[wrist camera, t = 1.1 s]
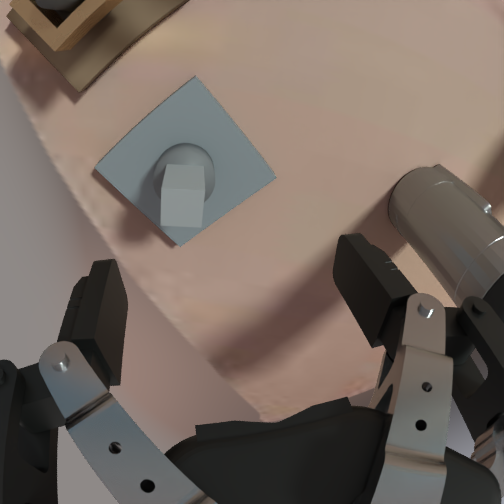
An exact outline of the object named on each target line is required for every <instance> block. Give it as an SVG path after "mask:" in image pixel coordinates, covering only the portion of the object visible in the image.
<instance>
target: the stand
mask: <svg viewBox="0 0 504 504" xmlns="http://www.w3.org/2000/svg"><path fill="white" fill-rule="evenodd" d="M35 1H36V3H37V4H38V6H40V7H41V8H45V9H53V10H54V11H55V12H56V13H57V14H58V15H59V16H60V17H61V18H62V19H63V20H64V21H65V20H66V19H67V18H68V17H69V16H70V15H71V14H72V12H73V11H75V10H76V9H77V8H78V7H79V6H80V5H81V4H82V3H83V2H84V1H85V0H35ZM187 1H189V0H123V1H122V2H120V3H119V4H118V5H117V6H116V7H115V8H113V9H112V10H111V11H110V12H109V13H108V14H107V15H106V16H104V17H103V18H102V19H101V20H100V21H99V22H98V23H97V24H96V25H95V26H94V27H93V28H92V29H91V30H90V31H89V32H88V33H87V34H86V35H85V36H84V37H83V38H82V39H81V40H80V41H79V42H78V43H77V44H76V45H75V46H74V47H73V48H72V49H71V50H64V51H57V52H55V51H54V50H53V49H52V48H51V47H50V46H49V45H48V44H47V43H46V42H45V41H44V40H43V39H42V38H41V37H40V36H39V35H38V34H37V33H36V32H35V31H34V30H33V28H32V27H31V26H30V25H29V24H28V23H27V22H26V21H25V20H24V19H23V18H22V17H21V16H20V15H19V14H18V13H17V12H16V11H15V10H14V9H13V8H12V10H11V11H10V12H9V13H8V15H7V16H6V17H7V18H8V19H9V20H10V21H11V22H12V23H13V24H14V25H15V26H16V27H17V28H18V29H19V30H20V31H21V32H22V33H23V35H24V36H25V37H26V38H27V39H28V40H29V41H30V42H31V43H32V44H33V45H34V46H35V47H36V48H37V49H38V50H39V51H40V52H41V53H42V55H43V56H44V57H45V58H46V59H47V60H48V61H49V62H50V63H51V64H52V65H53V66H54V67H55V68H56V69H57V70H58V71H59V72H60V73H61V74H62V75H63V76H64V77H65V78H66V79H67V81H68V82H69V83H70V84H71V85H72V86H73V87H74V88H75V89H76V90H77V91H78V92H82V91H84V90H85V89H86V88H87V87H88V86H89V85H90V84H91V83H92V82H93V81H94V80H95V79H96V78H97V77H98V76H99V75H100V74H101V73H102V72H103V71H104V70H105V69H106V68H107V67H108V66H109V65H110V64H111V63H112V62H113V61H114V60H115V59H116V58H117V57H119V56H120V55H121V54H122V53H123V52H124V51H125V50H126V49H127V48H128V47H130V46H131V45H132V44H133V43H134V42H135V41H137V40H138V39H139V38H140V37H141V36H142V35H144V34H145V33H146V32H147V31H149V30H150V29H151V28H152V27H154V26H155V25H156V24H157V23H159V22H160V21H161V20H163V19H164V18H165V17H166V16H168V15H169V14H170V13H172V12H173V11H175V10H176V9H177V8H179V7H180V6H182V5H183V4H184V3H186V2H187Z"/></svg>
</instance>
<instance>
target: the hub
mask: <svg viewBox="0 0 504 504" xmlns="http://www.w3.org/2000/svg"><path fill="white" fill-rule="evenodd" d="M95 169H96V170H97V171H98V172H99V173H101V174H102V175H103V176H104V177H105V178H106V179H107V180H108V181H109V182H110V183H111V184H112V185H113V186H114V187H115V188H116V189H117V190H118V191H119V192H121V193H122V194H123V195H124V196H125V197H126V198H127V199H128V200H129V201H130V202H131V203H132V204H133V205H134V206H136V207H137V208H138V209H139V210H140V211H141V212H142V213H143V214H144V215H145V216H146V217H148V218H149V219H150V220H151V221H152V222H153V223H154V224H155V225H156V226H157V227H158V228H160V229H161V230H162V231H163V232H164V233H165V234H166V235H167V236H168V237H170V238H171V239H172V240H173V241H174V242H175V243H176V244H177V245H179V246H180V247H181V246H182V245H183V244H185V243H186V242H188V241H189V240H190V239H192V238H193V237H194V236H196V235H197V234H198V233H200V232H201V231H202V230H204V229H205V228H207V227H208V226H209V225H211V224H212V223H213V222H215V221H216V220H218V219H219V218H220V217H222V216H223V215H225V214H226V213H227V212H229V211H230V210H231V209H233V208H234V207H236V206H237V205H239V204H240V203H241V202H243V201H244V200H246V199H247V198H248V197H250V196H251V195H253V194H254V193H256V192H257V191H258V190H260V189H261V188H263V187H264V186H266V185H267V184H269V183H270V182H271V181H273V180H274V179H276V178H277V177H276V176H275V174H274V172H273V171H272V169H271V168H270V167H269V165H268V164H267V163H266V161H265V160H264V159H263V157H262V156H261V155H260V154H259V152H258V151H257V150H256V148H255V147H254V146H253V145H252V143H251V142H250V141H249V140H248V138H247V137H246V136H245V135H244V133H243V132H242V131H241V129H240V128H239V127H238V126H237V125H236V123H235V122H234V121H233V120H232V118H231V117H230V116H229V115H228V113H227V112H226V111H225V110H224V109H223V107H222V106H221V105H220V104H219V103H218V101H217V100H216V99H215V98H214V97H213V95H212V94H211V93H210V92H209V91H208V89H207V88H206V87H205V86H204V85H203V84H202V82H201V81H200V80H199V79H198V78H197V77H196V75H195V76H194V77H193V78H192V79H190V80H189V81H188V82H186V83H185V84H184V85H183V86H181V87H180V88H179V89H178V90H176V91H175V92H174V93H173V94H171V95H170V96H169V97H168V98H167V99H165V100H164V101H163V102H162V103H161V104H159V105H158V106H157V107H156V108H155V109H154V110H152V111H151V112H150V113H149V114H148V115H147V116H146V117H145V118H143V119H142V120H141V121H140V122H139V123H138V124H137V125H136V126H135V127H134V128H132V129H131V130H130V131H129V132H128V133H127V134H126V135H125V136H124V137H123V138H122V139H121V140H120V141H119V142H118V143H117V144H116V145H115V146H114V147H113V148H112V149H111V150H110V151H109V152H108V153H107V154H106V155H105V156H104V157H103V158H102V159H101V160H100V161H99V162H98V163H97V165H96V166H95Z"/></svg>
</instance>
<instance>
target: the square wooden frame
mask: <svg viewBox="0 0 504 504" xmlns="http://www.w3.org/2000/svg"><path fill="white" fill-rule="evenodd" d="M122 1H123V0H85V1H84V2H83V3H82V4H81V5H80V6H79V7H78V8H77V9H76V10H75V11H73V12H72V14H71V15H70V16H69V17H68V18H67V19H66V20H65V21H64V20H63V19H62V18H61V17H60V16H59V15H58V14H57V13H56V12H55V11H54V10H53V9H45V8H41V7H40V6H38V4H37V3H36V1H35V0H12V2H11V3H10V4H9V5H10V6H11V7H12V8H13V9H14V10H15V11H16V12H17V13H18V14H19V15H20V16H21V17H22V18H23V19H24V20H25V21H26V22H27V23H28V24H29V25H30V26H31V27H32V28H33V30H34V31H35V32H36V33H37V34H38V35H39V36H40V37H41V38H42V39H43V40H44V41H45V42H46V43H47V44H48V45H49V46H50V47H51V48H52V49H53V50H54V51H55V52H57V51H64V50H71V49H72V48H73V47H74V46H75V45H76V44H77V43H78V42H79V41H80V40H81V39H82V38H83V37H84V36H85V35H86V34H87V33H88V32H89V31H90V30H91V29H92V28H93V27H94V26H95V25H96V24H97V23H98V22H99V21H100V20H101V19H102V18H103V17H104V16H106V15H107V14H108V13H109V12H110V11H111V10H112V9H113V8H115V7H116V6H117V5H118V4H119V3H120V2H122Z"/></svg>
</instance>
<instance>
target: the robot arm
mask: <svg viewBox="0 0 504 504" xmlns="http://www.w3.org/2000/svg"><path fill="white" fill-rule="evenodd" d="M389 217H390V220H391V222H392V224H393V225H394V226H395V227H396V229H397V230H398V231H399V233H400V234H401V235H402V236H403V237H404V238H405V239H406V241H407V242H408V243H409V244H410V245H411V247H412V248H413V249H414V250H415V252H416V253H417V254H418V255H419V257H420V258H421V259H422V260H423V262H424V263H425V264H426V265H427V267H428V268H429V269H430V271H431V272H432V273H433V275H434V276H435V277H436V279H437V280H438V281H439V282H440V284H441V285H442V287H443V288H444V289H445V291H446V292H447V293H448V295H449V296H450V297H451V299H452V300H453V302H454V303H455V305H456V306H457V307H458V308H455V307H444V306H443V305H442V303H441V302H440V301H439V300H438V299H436V298H435V297H433V296H431V295H429V294H425V293H418V292H417V291H416V290H415V289H414V287H413V286H412V285H411V284H410V282H409V281H408V280H407V279H406V277H405V276H404V275H403V274H402V272H401V271H400V270H398V269H397V266H396V265H395V264H394V263H393V262H392V260H391V259H390V258H389V257H388V256H387V254H386V253H385V252H384V251H382V250H381V249H379V248H378V247H376V246H374V245H370V243H369V242H368V241H367V240H366V239H365V237H364V236H363V235H362V234H360V233H355V234H345V235H341V236H340V237H339V239H338V244H337V250H336V255H335V260H334V266H333V278H334V282H335V284H336V286H337V288H338V289H339V291H340V293H341V295H342V296H343V298H344V300H345V301H346V303H347V305H348V307H349V308H350V310H351V312H352V314H353V315H354V317H355V319H356V321H357V322H358V324H359V326H360V328H361V329H362V331H363V333H364V335H365V337H366V338H367V340H368V342H369V344H370V346H371V347H372V348H374V347H378V346H382V345H384V347H385V349H386V350H385V352H384V354H383V358H382V362H381V367H380V371H379V375H378V379H377V383H376V387H375V390H374V394H373V397H372V400H371V402H370V404H369V407H362V406H351V404H350V402H349V400H348V397H344V398H341V399H337V400H333V401H329V402H325V403H322V404H317V405H313V406H311V407H309V408H307V409H305V410H303V411H301V412H299V413H297V414H295V415H293V416H291V417H289V418H287V419H284V420H282V421H280V422H277V423H265V422H245V421H228V422H221V423H213V424H203V425H195V428H196V435H195V436H192V437H189V438H187V439H185V440H183V441H181V442H179V443H178V444H176V445H174V446H173V447H172V448H171V449H169V450H168V451H167V452H166V453H165V454H163V453H162V452H161V451H160V450H159V449H158V448H157V447H156V446H155V445H154V443H153V442H152V441H151V440H150V439H149V438H148V437H147V436H146V435H145V434H144V432H143V431H142V430H141V429H140V428H139V427H138V426H137V424H135V422H134V421H133V420H132V419H131V417H130V416H129V415H128V414H127V413H126V411H125V410H124V409H123V408H122V407H121V405H120V404H119V403H118V401H117V400H116V399H115V398H114V397H113V395H112V394H111V393H109V388H110V386H116V385H120V381H121V368H122V356H123V346H124V337H125V328H126V319H127V311H128V301H127V294H126V291H125V288H124V284H123V281H122V278H121V275H120V272H119V268H118V265H117V262H116V260H115V259H108V260H99V261H94V262H93V265H92V268H91V271H90V274H89V276H86V277H82V278H81V279H80V280H79V281H78V283H77V284H76V285H75V286H74V288H73V291H72V294H71V297H70V301H69V303H68V306H67V310H66V313H65V316H64V319H63V323H62V326H61V329H60V333H59V336H58V340H57V343H54V344H52V345H50V346H49V347H48V348H47V349H46V350H45V351H44V352H43V354H42V355H41V357H40V360H39V363H36V364H33V365H30V366H27V367H24V368H21V369H17V368H16V366H15V365H14V364H13V363H12V362H11V361H8V360H0V504H58V494H57V442H58V427H61V426H64V425H65V426H66V429H67V431H68V432H69V434H70V436H71V437H72V439H73V440H74V442H75V443H76V445H77V447H78V448H79V450H80V451H81V453H82V454H83V456H84V457H85V459H86V460H87V462H88V463H89V465H90V466H91V467H92V469H93V470H94V472H95V473H96V474H97V476H98V477H99V478H100V480H101V481H102V482H103V483H104V485H105V486H106V488H107V489H108V490H109V491H110V493H111V494H112V495H113V496H114V498H115V499H116V500H117V501H118V502H119V504H501V498H502V497H503V496H504V226H503V225H502V224H501V223H500V222H499V221H498V220H497V219H496V218H495V217H494V216H492V213H491V205H490V203H489V202H488V201H487V200H486V199H484V198H483V197H482V196H481V195H480V194H478V193H477V192H476V191H475V190H473V189H472V188H471V187H470V186H468V185H467V184H466V183H465V182H463V181H462V180H461V179H459V178H458V177H457V176H455V175H454V174H453V173H451V172H450V171H449V170H447V169H446V168H444V167H443V166H442V165H440V164H438V165H437V166H435V167H422V168H418V169H415V170H413V171H411V172H410V173H408V174H407V175H406V176H405V177H403V178H402V179H401V180H400V182H399V183H398V184H397V186H396V187H395V189H394V191H393V193H392V195H391V198H390V201H389ZM475 348H476V349H477V351H478V352H479V354H480V355H481V357H482V358H483V360H484V362H485V363H486V365H487V367H488V376H487V379H486V380H484V378H483V376H482V374H481V373H480V371H479V370H478V368H477V366H476V364H475V363H474V361H473V360H472V358H471V356H470V355H471V354H472V352H473V351H474V349H475ZM451 396H452V397H453V399H454V401H455V403H456V405H457V406H458V409H459V411H460V413H461V415H462V417H463V419H464V421H465V423H466V425H467V427H468V429H469V431H470V433H471V436H472V438H473V440H474V442H475V446H474V452H473V453H472V455H471V459H470V458H468V457H466V456H464V455H462V454H460V453H458V452H456V451H454V450H452V449H450V448H448V447H446V440H447V433H448V425H449V417H450V407H451Z"/></svg>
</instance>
